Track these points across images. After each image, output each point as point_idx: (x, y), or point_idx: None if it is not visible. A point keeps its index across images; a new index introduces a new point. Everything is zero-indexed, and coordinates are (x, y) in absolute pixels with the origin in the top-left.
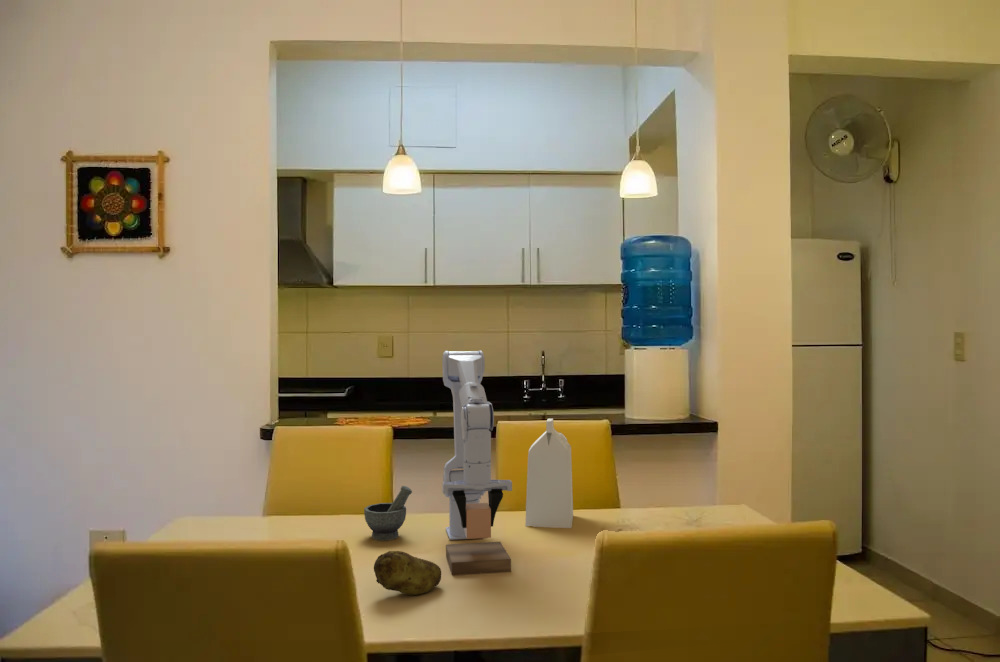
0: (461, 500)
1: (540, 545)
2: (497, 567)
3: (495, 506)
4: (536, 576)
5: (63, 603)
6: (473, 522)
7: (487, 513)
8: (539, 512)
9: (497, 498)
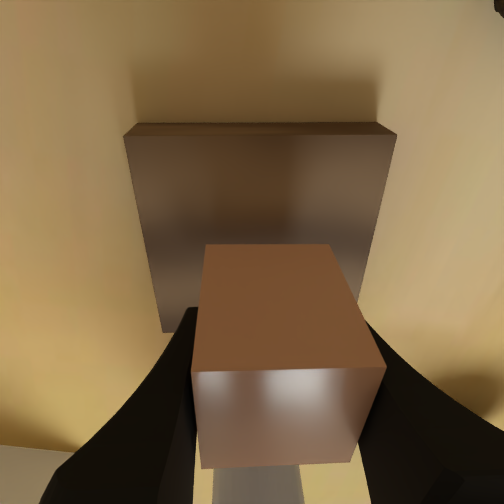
0: (472, 443)
1: (40, 347)
2: (191, 127)
3: (148, 399)
4: (15, 32)
5: None
6: (312, 298)
7: (220, 340)
8: (39, 493)
9: (107, 464)
